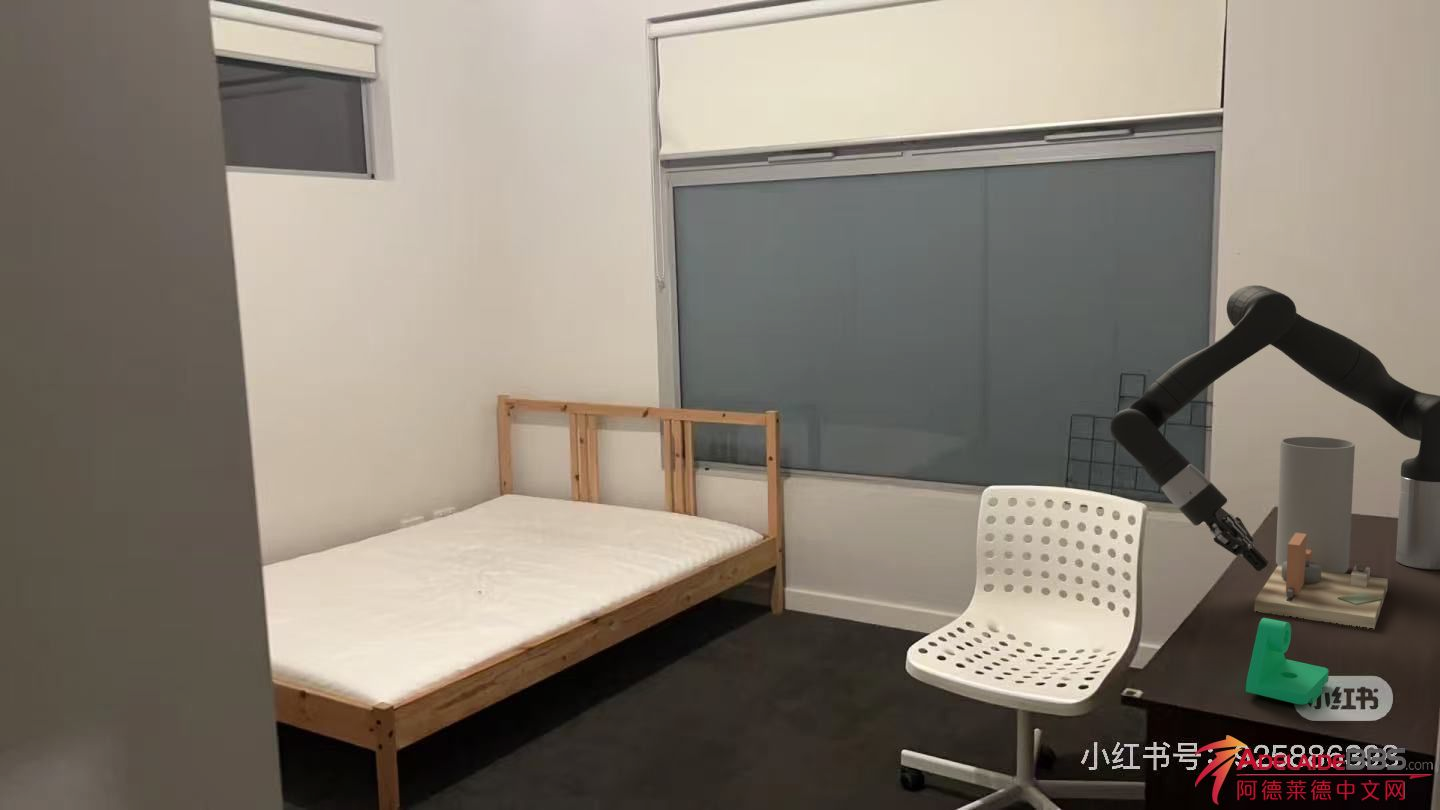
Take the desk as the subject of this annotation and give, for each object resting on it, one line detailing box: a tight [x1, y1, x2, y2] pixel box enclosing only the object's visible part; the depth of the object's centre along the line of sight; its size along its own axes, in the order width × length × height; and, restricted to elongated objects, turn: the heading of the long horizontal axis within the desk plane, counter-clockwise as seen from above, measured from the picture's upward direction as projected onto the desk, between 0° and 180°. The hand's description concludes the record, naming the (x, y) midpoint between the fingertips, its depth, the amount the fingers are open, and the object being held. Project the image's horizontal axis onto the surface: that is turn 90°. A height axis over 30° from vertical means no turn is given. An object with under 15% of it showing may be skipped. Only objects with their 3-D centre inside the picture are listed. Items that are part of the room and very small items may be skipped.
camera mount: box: [1245, 617, 1330, 705], centre depth 156 cm, size 12×8×10 cm, turn 136°
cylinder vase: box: [1275, 436, 1356, 574], centre depth 210 cm, size 12×12×25 cm
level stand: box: [1253, 561, 1389, 630], centre depth 193 cm, size 24×18×6 cm
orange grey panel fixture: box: [1281, 533, 1322, 598], centre depth 195 cm, size 19×6×9 cm, turn 144°
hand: (1263, 567), depth 196 cm, fingers closed
